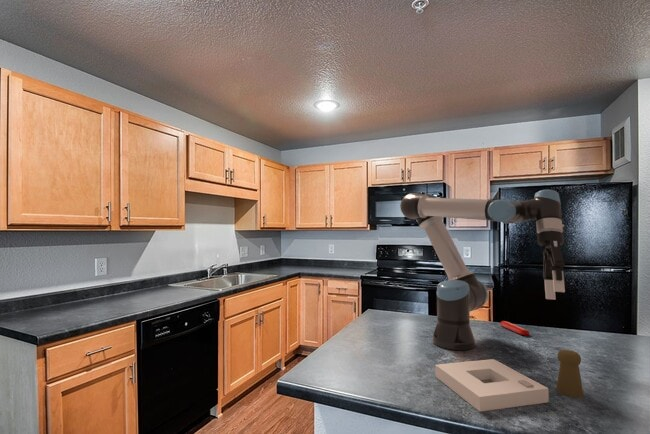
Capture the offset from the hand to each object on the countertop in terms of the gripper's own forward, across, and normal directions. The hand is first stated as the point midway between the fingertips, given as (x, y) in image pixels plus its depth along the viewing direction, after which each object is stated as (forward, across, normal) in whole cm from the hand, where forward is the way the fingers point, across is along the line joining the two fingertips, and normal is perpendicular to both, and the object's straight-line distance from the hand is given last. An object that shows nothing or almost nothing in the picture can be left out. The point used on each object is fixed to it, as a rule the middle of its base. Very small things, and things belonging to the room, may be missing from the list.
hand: (554, 295), depth 111 cm
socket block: (+30, -16, +20) cm, 40 cm away
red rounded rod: (+9, +43, +8) cm, 45 cm away
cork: (+28, -10, 0) cm, 30 cm away
